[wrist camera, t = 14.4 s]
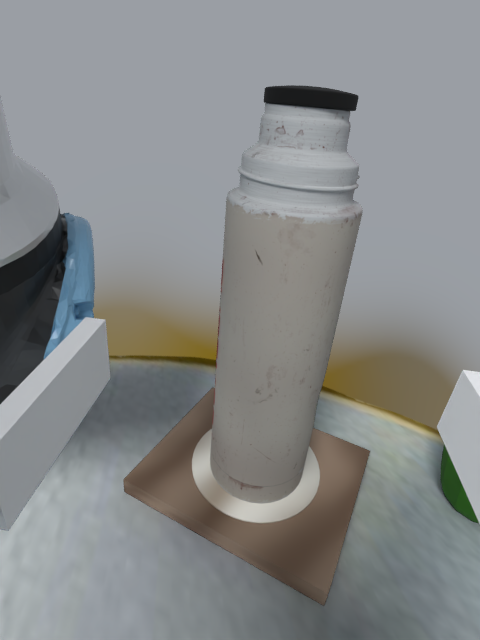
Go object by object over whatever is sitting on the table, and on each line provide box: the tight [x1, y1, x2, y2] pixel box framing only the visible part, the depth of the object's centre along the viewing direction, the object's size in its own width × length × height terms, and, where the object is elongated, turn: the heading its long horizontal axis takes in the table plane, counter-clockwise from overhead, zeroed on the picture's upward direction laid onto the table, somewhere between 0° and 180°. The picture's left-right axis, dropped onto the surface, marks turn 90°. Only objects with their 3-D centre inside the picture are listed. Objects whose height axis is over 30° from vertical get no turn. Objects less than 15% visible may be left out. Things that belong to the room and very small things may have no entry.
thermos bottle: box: [210, 86, 362, 504], centre depth 27 cm, size 8×8×28 cm
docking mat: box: [124, 388, 370, 606], centre depth 34 cm, size 17×14×2 cm
